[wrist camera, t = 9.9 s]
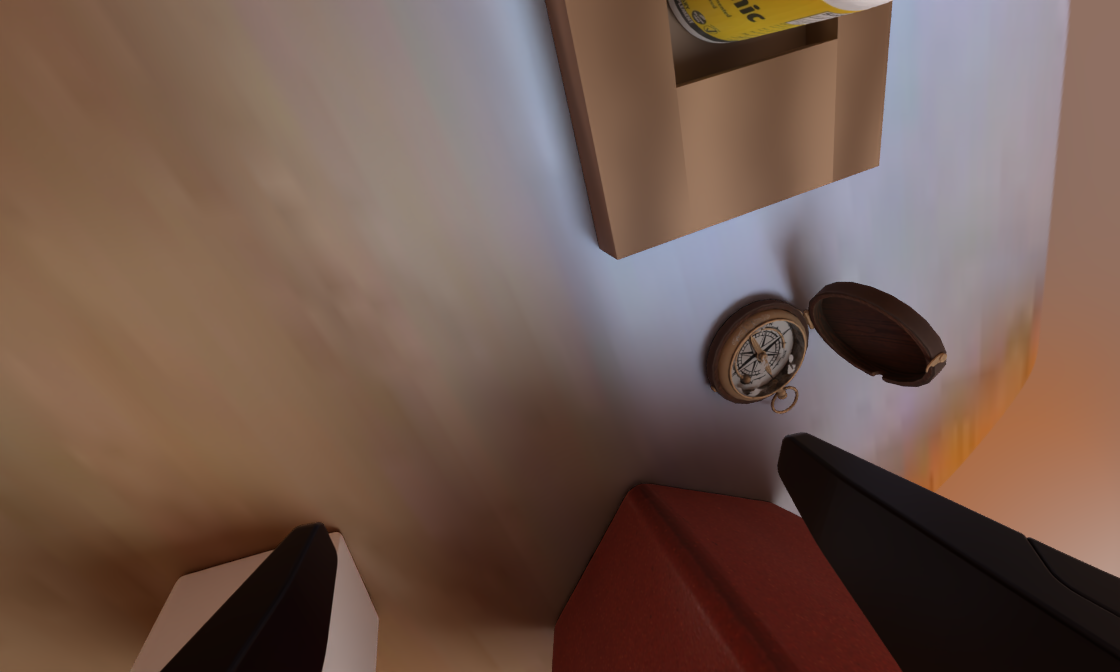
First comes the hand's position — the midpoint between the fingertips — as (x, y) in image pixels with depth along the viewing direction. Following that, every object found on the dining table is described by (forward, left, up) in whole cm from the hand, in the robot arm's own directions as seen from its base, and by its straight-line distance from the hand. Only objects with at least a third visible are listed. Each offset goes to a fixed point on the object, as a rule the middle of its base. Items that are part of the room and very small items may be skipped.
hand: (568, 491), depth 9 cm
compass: (+14, -9, -13) cm, 21 cm away
